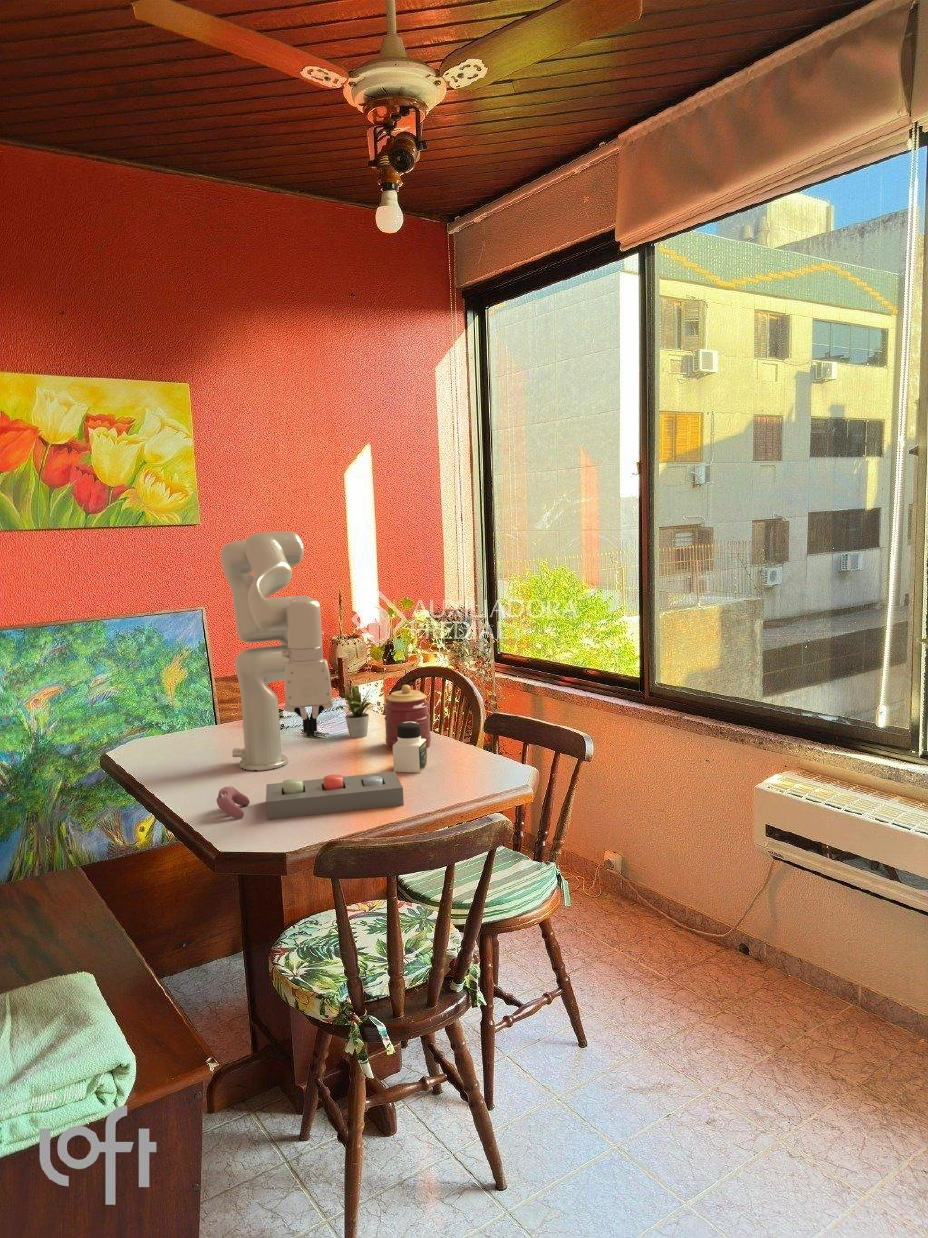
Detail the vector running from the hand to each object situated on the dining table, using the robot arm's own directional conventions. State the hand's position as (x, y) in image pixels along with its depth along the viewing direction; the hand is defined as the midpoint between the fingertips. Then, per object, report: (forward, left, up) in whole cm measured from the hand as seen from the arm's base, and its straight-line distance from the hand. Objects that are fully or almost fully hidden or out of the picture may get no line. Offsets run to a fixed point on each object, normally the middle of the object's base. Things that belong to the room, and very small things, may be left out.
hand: (310, 734), depth 191 cm
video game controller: (-16, -7, -17) cm, 24 cm away
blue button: (+12, +6, -15) cm, 20 cm away
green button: (-4, -2, -13) cm, 14 cm away
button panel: (+4, +2, -16) cm, 17 cm away
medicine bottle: (+14, +30, -17) cm, 37 cm away
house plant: (-13, +62, -17) cm, 65 cm away
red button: (+4, +2, -13) cm, 14 cm away
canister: (+7, +52, -17) cm, 55 cm away
